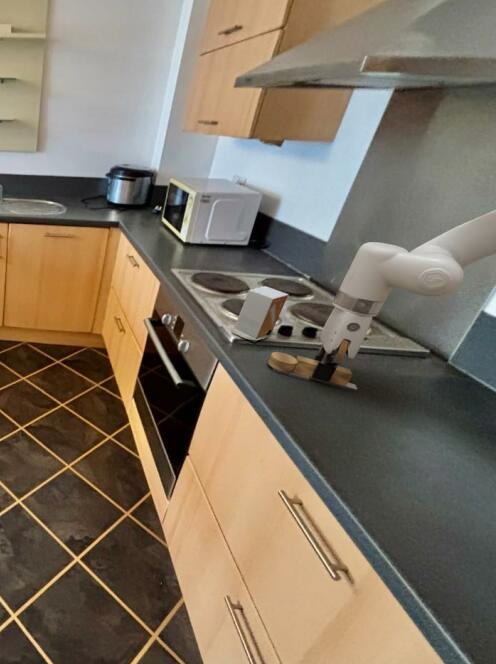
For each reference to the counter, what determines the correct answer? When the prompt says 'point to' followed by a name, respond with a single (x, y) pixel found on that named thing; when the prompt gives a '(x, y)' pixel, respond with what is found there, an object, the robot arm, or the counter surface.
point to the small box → (260, 311)
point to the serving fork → (303, 377)
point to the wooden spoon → (306, 367)
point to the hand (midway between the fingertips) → (319, 374)
